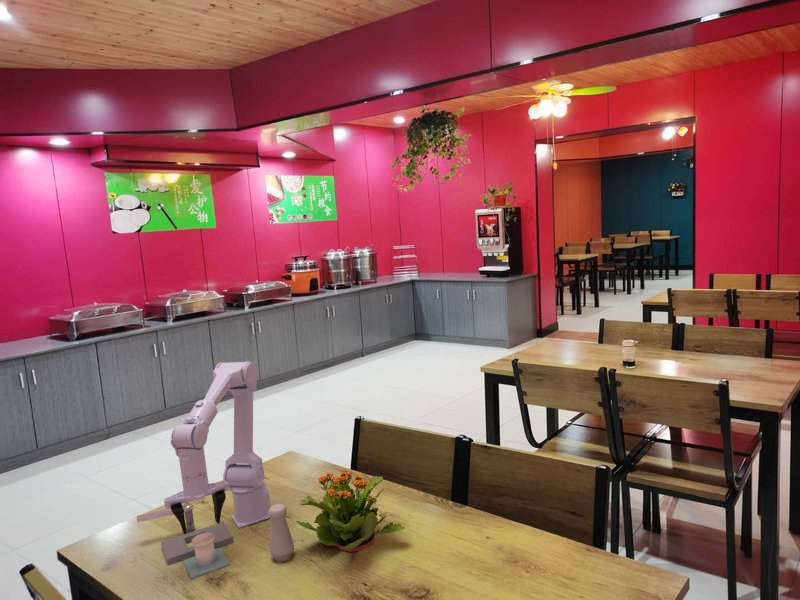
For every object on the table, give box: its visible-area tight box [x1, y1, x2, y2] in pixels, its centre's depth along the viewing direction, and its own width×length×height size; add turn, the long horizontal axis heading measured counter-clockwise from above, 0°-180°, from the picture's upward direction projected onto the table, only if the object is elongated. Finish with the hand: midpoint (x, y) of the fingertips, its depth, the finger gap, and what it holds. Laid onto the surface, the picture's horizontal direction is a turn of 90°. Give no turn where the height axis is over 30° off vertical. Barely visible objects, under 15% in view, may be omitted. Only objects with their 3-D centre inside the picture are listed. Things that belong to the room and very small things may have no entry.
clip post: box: [184, 510, 196, 533], centre depth 155 cm, size 2×2×6 cm
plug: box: [191, 533, 216, 567], centre depth 139 cm, size 5×5×6 cm
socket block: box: [160, 521, 234, 566], centre depth 148 cm, size 16×10×2 cm, turn 121°
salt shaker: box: [268, 503, 295, 563], centre depth 139 cm, size 6×6×13 cm
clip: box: [136, 502, 194, 523], centre depth 153 cm, size 14×2×1 cm, turn 110°
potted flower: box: [295, 471, 406, 553], centre depth 142 cm, size 25×24×18 cm
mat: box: [183, 547, 231, 580], centre depth 140 cm, size 9×9×1 cm
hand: (201, 526), depth 138 cm, fingers open, 7 cm apart
